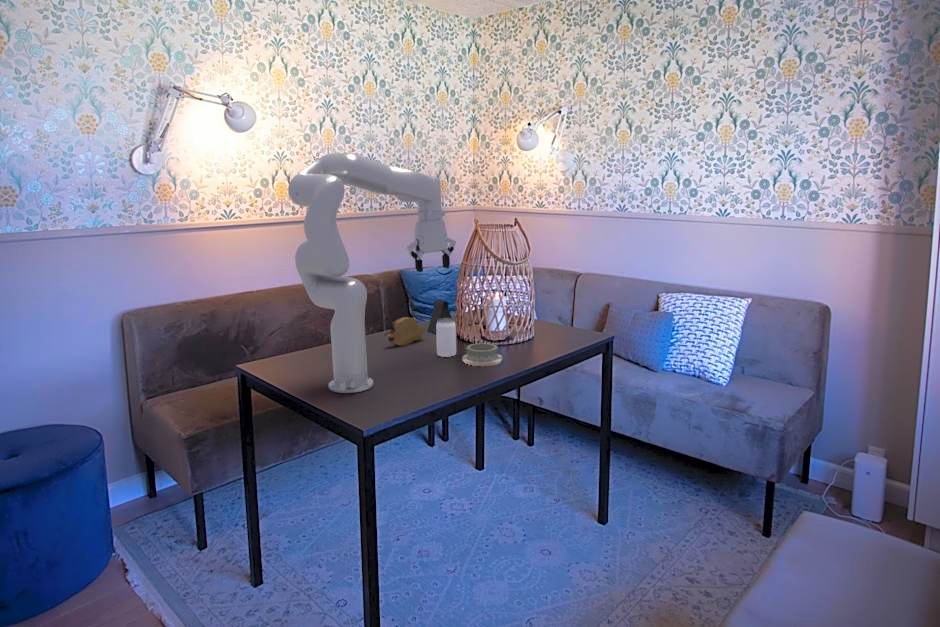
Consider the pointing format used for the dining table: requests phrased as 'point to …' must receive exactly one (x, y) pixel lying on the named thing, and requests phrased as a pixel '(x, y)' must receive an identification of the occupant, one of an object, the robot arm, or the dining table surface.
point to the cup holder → (482, 355)
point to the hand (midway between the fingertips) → (433, 269)
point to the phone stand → (438, 314)
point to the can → (446, 337)
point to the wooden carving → (404, 331)
